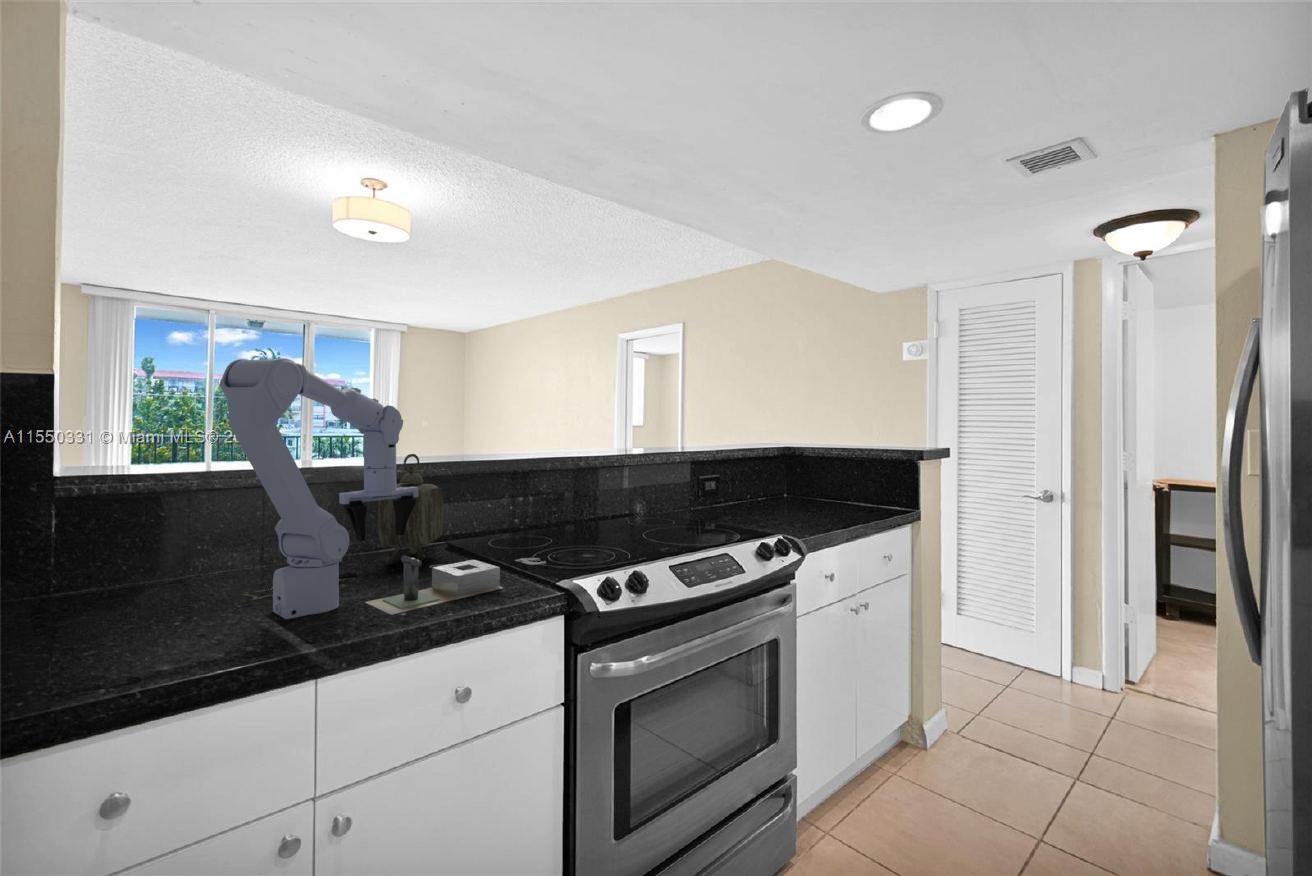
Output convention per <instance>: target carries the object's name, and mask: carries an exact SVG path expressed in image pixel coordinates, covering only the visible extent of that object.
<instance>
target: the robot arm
mask: <svg viewBox="0 0 1312 876" xmlns="http://www.w3.org/2000/svg"><path fill="white" fill-rule="evenodd" d="M218 385H219V387H220V389H221V391H222V393H223V394H224V395H223V396H225V398H226V403H227V412H228V420H229V427H230V430H231V431H232V434H233V435H234V436H235V438H236V441H237V442H238V444H239V446H240V447H241V449H242V451H243V453H244V454H245V457H246V458H247V460H248V461H249V463H250V465H251V467H252V468H253V471H254V473H255V474H256V476H257V477H258V479H259V481H260V483H261V485H262V487H263V489H264V490H265V492H266V494H267V496H268V498H269V500H270V501H271V502H272V503H271V504H273V506H274V508H275V510H276V511H277V514H278V515H279V517H280V520H279V521H278V522H277V523H276V525H275V527H274V531H275V533H276V535H277V537H278V548H279V551H280V552H281V554H282V555H283V556H284V557H286V562H287V564H289V565H288V566H285V567H281V568H277V569H276V570H275V571H274V573H273V575H272V576H273V578H272V588H273V590H272V594H273V597H272V612H274V613H275V614H276V615H278V616H279V617H281V618H283V619H284V620H289V619H294V618H298V617H304V616H308V615H315V614H321V613H327V612H331V611H333V610H336V609H337V608H338V607H339V605H340V595H339V594H340V588H339V587H340V583H339V579H340V578H339V573H340V572H339V571H340V567H339V563H340V562H343V557H344V556H345V555H346V554H347V551H348V549H349V546H350V535H349V532H348V530H347V529H346V528H345V526H342V525H341V524H340V523H338V521H337V518H336V517H335V516H334V515H333V514H331V513H330V512H328V511H327V510H325V509H323V508H322V507H320V506H319V505H318V504H317V502H316V499H315V498H314V495H313V494H312V492H311V490H310V489H309V488H310V487H309V486H308V483H307V482H306V480H305V478H304V477H303V475H302V473H301V471H300V468H299V466H298V465H297V463H296V461H295V459H294V458H293V456H292V455H293V454H291V451H290V450H289V447H288V445H287V443H286V442H285V439H284V438H283V436H282V434H281V432H280V430H279V428H278V425H277V423H278V421H279V419H281V418H282V417H283V416H284V414H285V413H286V412H287V410H288V409H289V407H290V406H291V405H292V404H293V402H294V401H295V400H296V399H297V397H298V395H299V396H302V397H304V398H306V399H308V400H309V399H310V400H311V401H315V402H316V403H319V404H322V405H325V406H327V407H329V408H330V412H331V414H332V416H334V417H335V418H338V419H339V420H342V421H344V422H346V423H348V424H350V425H352V426H355V427H356V428H357V430H358V432H359V433H360V434H361V435H363V490H362V489H361V490H354V491H348V492H339V493H338V494H339V495H338V496H339V497H338V498H339V499H338V503H339V504H340V505H342V507H343V508H344V509H343V510H345V512H346V514H347V515H348V517H349V520H350V522H351V524H352V527H353V530H354V534H355V537H356V541H357V542H358V541H359V542H365V541H366V517H367V511H368V506H367V505H364V503H366V502H376V501H379V500H387V499H393V504H394V510H395V530H396V534H397V535H404V532H405V528H406V524H407V521H408V518H409V516H410V513H411V511H412V509H413V508H414V506H415V504H416V499H414V498H413V497H418V487H400V488H396V484H397V444H398V442H399V441H400V432H401V431H402V429H403V425H404V420H403V419H402V415H401V413H400V411H399V410H398V409H397V408H396V407H395V406H392V405H382V404H381V403H380V401H379V400H378V399H376V398H371V397H368V396H367V395H365V394H363V393H362V389H360V388H358V387H347V388H343V389H339V388H337V387H336V386H334V385H333V384H331V383H329V382H327V381H326V380H324V379H323V378H321V377H319V376H318V375H316V374H315V373H312V372H311V371H309V370H307V369H306V366H305V365H304V364H301V363H298V362H297V363H296V362H295V361H294V360H292V359H290V358H285V357H282V358H280V357H279V358H275V359H273V358H272V359H247V358H240V359H236V360H233V361H232V362H230V363H229V364H228V365H227V366H226V368H225V370H224V372H223V374H222V376H221V379H220V382H219V384H218ZM390 495H391V496H390ZM380 496H388V497H380ZM293 612H295V613H293Z"/></svg>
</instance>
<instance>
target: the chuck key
mask: <svg viewBox="0 0 1312 876" xmlns="http://www.w3.org/2000/svg"><path fill="white" fill-rule="evenodd" d="M400 560H401V562H402V563H403V594H404V600H405V601H414V600H417V599H418V591H419V567H421V566H422V560H419V559H418V558H414V557H410V556H408V555H402V556H401V558H400Z"/></svg>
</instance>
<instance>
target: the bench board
mask: <svg viewBox="0 0 1312 876" xmlns="http://www.w3.org/2000/svg"><path fill="white" fill-rule="evenodd" d="M502 589H503V587H502V586H500V588H497V589H493V590H489V591H485V592H480V593H476V594H472V595H468V596H464V597H459V598H457V597H454V596H451V595H448V594H446V593H443V592H440V591H438V590H435V589H432V587H428V588H424V589H420V590H419V589H418V591H421V592H424V593H426V594H429V595H431V596H434V597H436V598H439V601H435V602H430V603H426V604H422V605H418V606H413V607H409V608H405V609H400V608H397V607H395V606H393V605H391V604H388V603H386V602H384V601H382V599H386V598H390V597H395V596H399V595H404V593H400V594H395V595H391V596H386V597H383V598H377V599H373V600H368V601H364V603H365V604H367V605H368V606H371V607H373V608H376V609H378V610H380V611H382V612H384V613H386V614H388V615H391V616H392V615H393V616H394V615H398V614H401V613H405V612H406V613H407V612H409V611H413V610H417V609H422V608H426V607H430V606H435V605H438V604H439V605H440V604H442V603H446V602H447V603H448V602H450V601H455V600H459V599H464V598H467V597H468V598H469V597H473V596H477V595H481V594H484V593H489V592H493V591H497V590H502Z"/></svg>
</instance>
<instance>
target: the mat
mask: <svg viewBox="0 0 1312 876" xmlns="http://www.w3.org/2000/svg"><path fill="white" fill-rule="evenodd" d="M398 595H399V596H395V595H394V596H395V597H391V596H389V597H390V598H386V597H385V598H386V599H382V601H384V602H386V603H388V604H391V605H393V606H395V607H397V608H400V609H405V608H409V607H413V606H418V605H422V604H426V603H430V602H435V601H439V598H436V597H434V596H431V595H429V594H426V593H424V592H421V591H419V590H418V599H417V600H414V601H405V600H404V595H400V594H398Z"/></svg>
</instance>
